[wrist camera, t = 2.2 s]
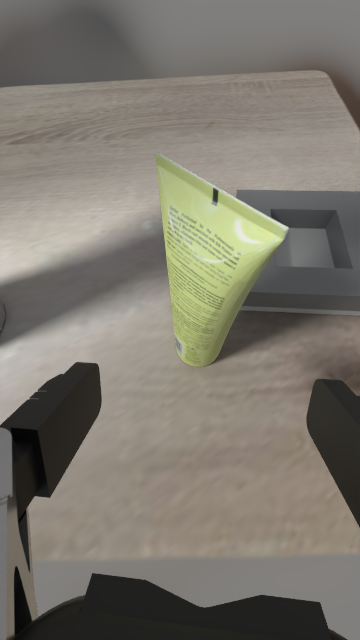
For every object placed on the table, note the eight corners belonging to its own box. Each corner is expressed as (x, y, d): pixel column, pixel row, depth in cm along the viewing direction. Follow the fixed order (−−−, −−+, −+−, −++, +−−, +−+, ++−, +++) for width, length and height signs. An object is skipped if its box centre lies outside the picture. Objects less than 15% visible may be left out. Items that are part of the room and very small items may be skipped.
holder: (235, 309, 30) (240, 291, 27) (232, 214, 37) (237, 189, 34) (376, 316, 29) (402, 298, 26) (346, 216, 36) (363, 191, 33)
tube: (225, 326, 29) (275, 148, 12) (227, 369, 27) (291, 227, 10) (176, 325, 30) (154, 150, 12) (174, 368, 27) (143, 227, 10)
